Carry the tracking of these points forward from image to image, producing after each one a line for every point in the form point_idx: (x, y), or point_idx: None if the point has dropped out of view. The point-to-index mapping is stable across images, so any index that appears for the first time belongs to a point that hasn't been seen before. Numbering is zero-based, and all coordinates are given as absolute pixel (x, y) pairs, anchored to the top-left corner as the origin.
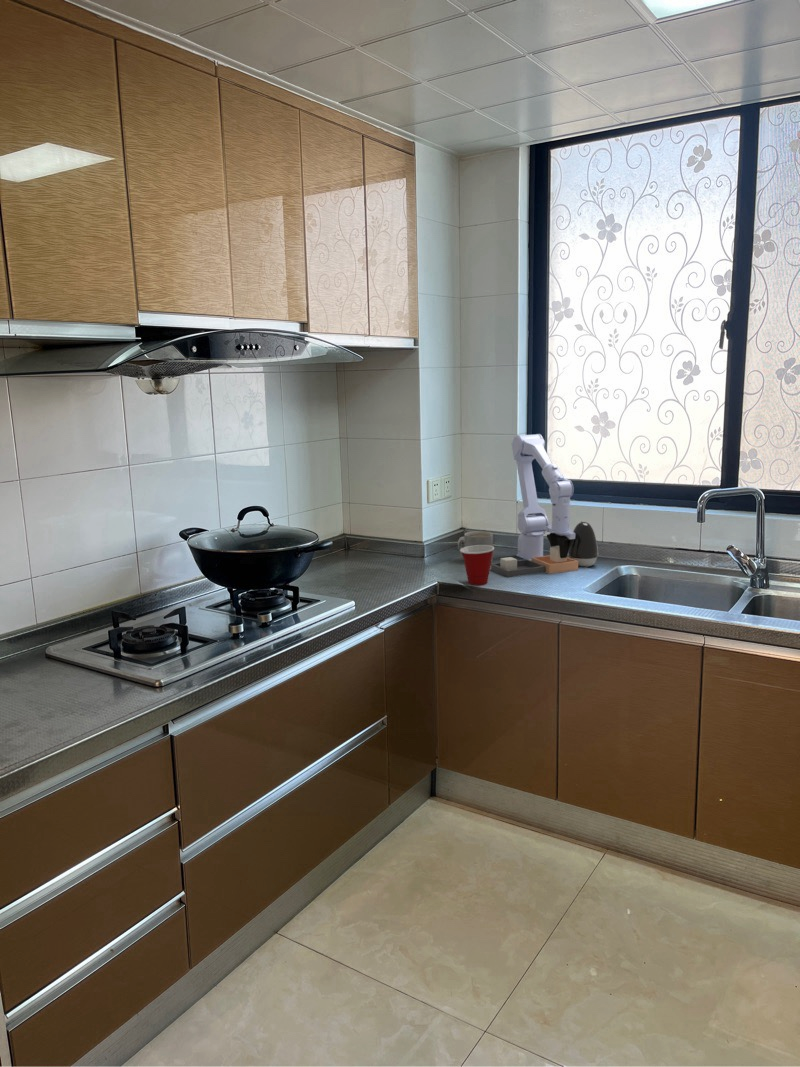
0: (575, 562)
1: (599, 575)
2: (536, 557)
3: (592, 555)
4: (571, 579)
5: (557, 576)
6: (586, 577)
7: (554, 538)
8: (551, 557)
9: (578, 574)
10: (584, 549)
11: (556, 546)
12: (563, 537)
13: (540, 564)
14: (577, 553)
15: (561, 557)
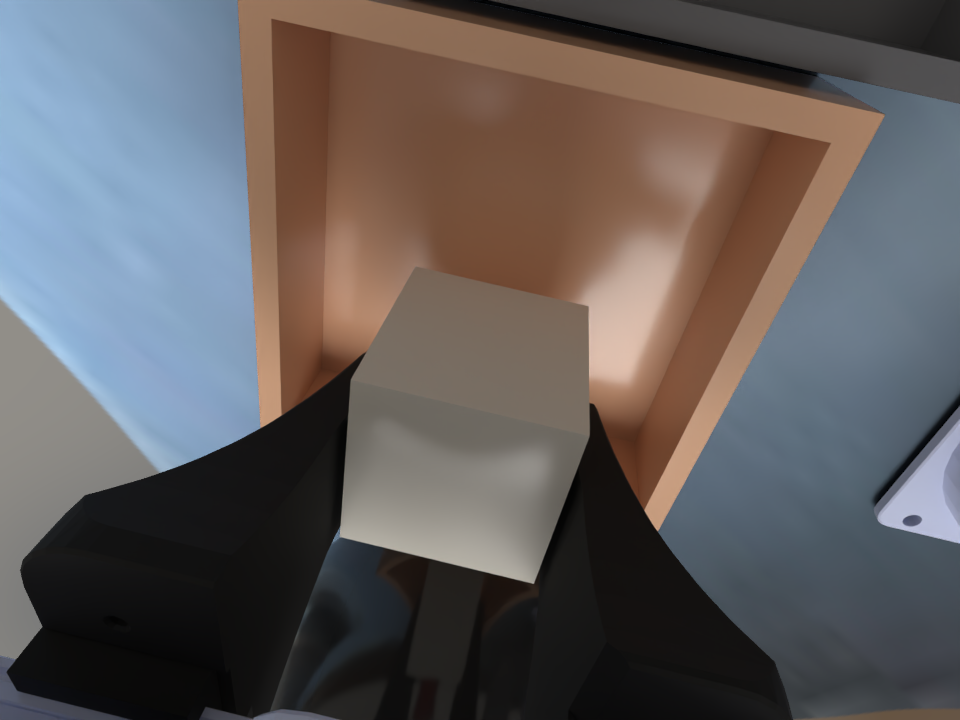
0: (266, 404)
1: (123, 397)
2: (802, 201)
3: None
4: (41, 72)
5: (226, 32)
6: (86, 268)
7: (566, 659)
8: (542, 318)
9: (218, 297)
10: (295, 640)
11: (530, 521)
12: (145, 659)
13: (549, 31)
14: (368, 568)
15: (363, 355)
